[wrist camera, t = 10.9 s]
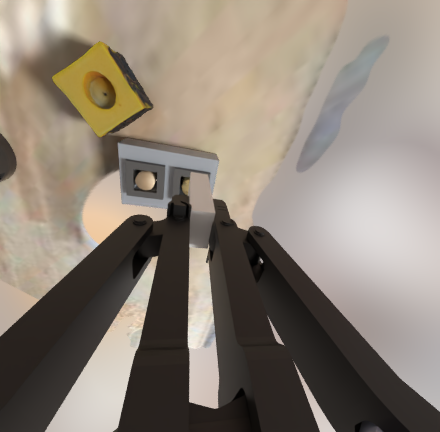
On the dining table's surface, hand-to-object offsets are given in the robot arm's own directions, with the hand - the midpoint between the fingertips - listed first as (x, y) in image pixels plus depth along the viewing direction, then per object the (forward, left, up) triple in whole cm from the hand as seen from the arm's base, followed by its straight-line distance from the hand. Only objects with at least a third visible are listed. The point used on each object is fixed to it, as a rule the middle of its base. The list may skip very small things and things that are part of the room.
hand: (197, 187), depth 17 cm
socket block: (-5, -11, -32) cm, 35 cm away
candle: (-16, +4, -33) cm, 37 cm away
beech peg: (-10, -11, -32) cm, 35 cm away
